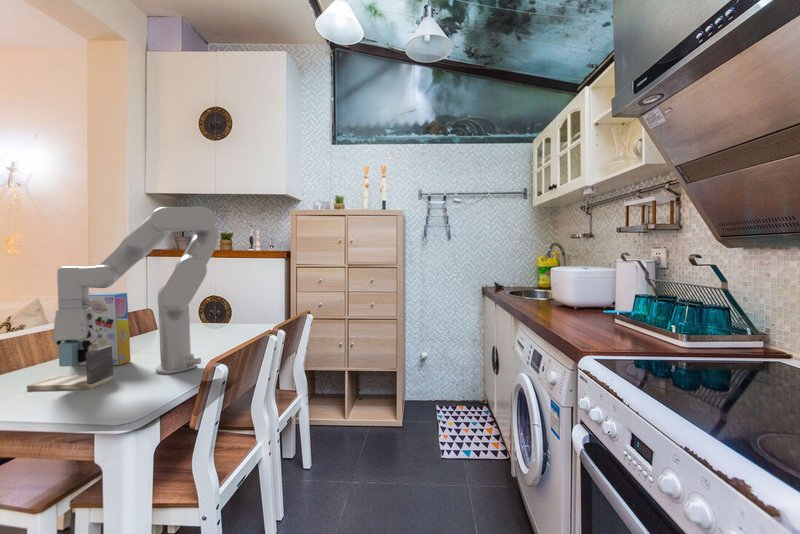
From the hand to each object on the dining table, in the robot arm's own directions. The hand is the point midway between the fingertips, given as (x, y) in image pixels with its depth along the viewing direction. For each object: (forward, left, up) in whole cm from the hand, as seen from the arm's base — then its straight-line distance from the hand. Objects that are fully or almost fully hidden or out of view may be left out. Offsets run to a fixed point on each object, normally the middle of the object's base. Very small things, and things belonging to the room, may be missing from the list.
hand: (75, 360), depth 121 cm
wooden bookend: (+2, 0, -8) cm, 8 cm away
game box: (+11, -24, -8) cm, 28 cm away
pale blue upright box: (0, 0, -1) cm, 1 cm away
